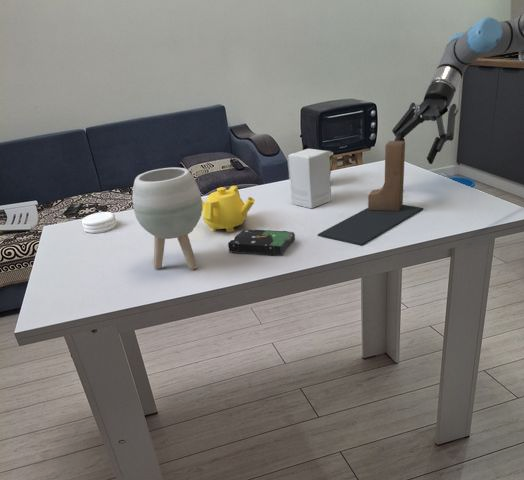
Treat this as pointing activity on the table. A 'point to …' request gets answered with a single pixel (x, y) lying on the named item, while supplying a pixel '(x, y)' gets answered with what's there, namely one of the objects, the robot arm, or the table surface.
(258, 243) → the disk drive
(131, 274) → the table surface
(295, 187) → the white product box
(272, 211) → the table surface
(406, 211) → the mat
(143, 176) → the planter
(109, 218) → the coaster
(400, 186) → the wooden block
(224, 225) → the teapot
